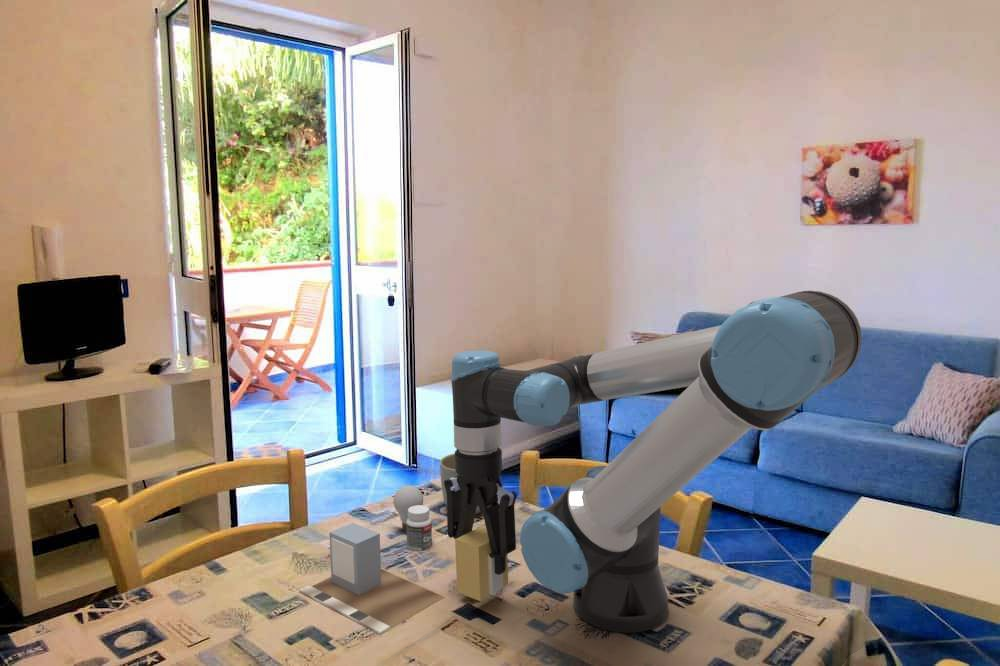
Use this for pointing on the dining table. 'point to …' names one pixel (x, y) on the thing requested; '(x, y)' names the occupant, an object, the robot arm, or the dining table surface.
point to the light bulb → (407, 501)
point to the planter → (449, 474)
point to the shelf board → (375, 601)
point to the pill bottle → (419, 528)
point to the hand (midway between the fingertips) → (482, 585)
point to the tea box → (474, 564)
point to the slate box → (355, 558)
